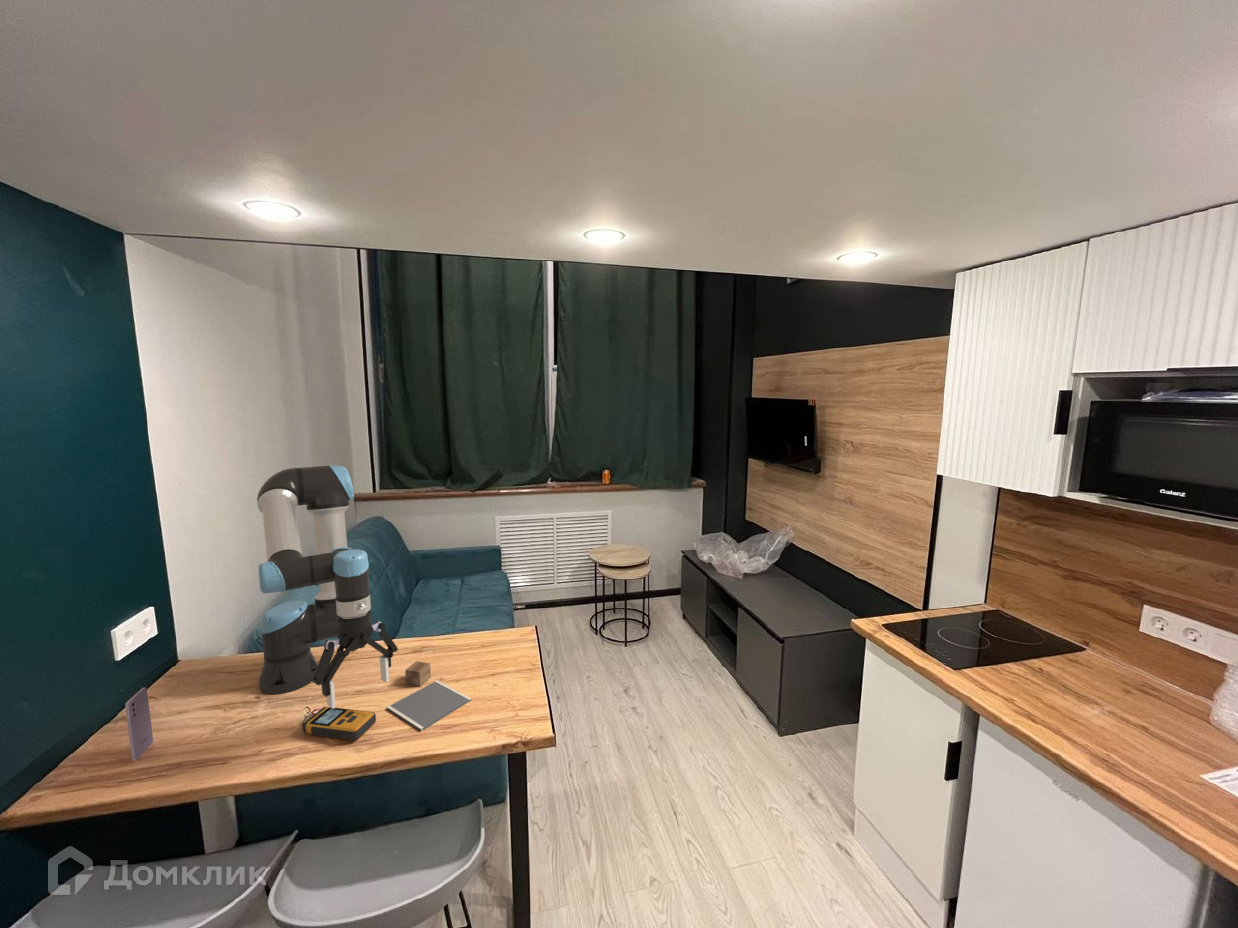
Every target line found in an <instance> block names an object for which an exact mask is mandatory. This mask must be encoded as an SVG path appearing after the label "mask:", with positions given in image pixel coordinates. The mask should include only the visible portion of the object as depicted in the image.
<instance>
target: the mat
mask: <svg viewBox="0 0 1238 928" xmlns="http://www.w3.org/2000/svg"><path fill="white" fill-rule="evenodd" d="M471 701H472V698H471V697H470V696H468V695H466V694H464V693H461V692H460V691H458V690H456V689H454V688H453V687H451V686H449V685H448V684H445V683H443V682H441V681H440V680H435V681H433V682H432V683H430V684H428V685H426V686H424V687H422V688H420V689H418V690H417V691H414V692H413V693H411V694H409V695H407V696H405V697H404V698H401V699H399V700H398V701H396V702H394V703H392V704H390V705H387V706H386V710H387V711H389V712H391V714H393V715H395V716H397V717H398V718H399V719H401V720H403V721H404V722H406V723H407V724H409V725H411V726H412V727H413V728H415V729H417V730H418V731H419V732H423V731H425V730H426V729H428V728H429V727H431V726H432V725H434V724H436V723H437V722H439V721H440V720H442V719H444V718H446V717H447V716H449V715H451V714H452V713H453V712H455V711H457V710H458V709H460V708H462V707H463V706H465V705H466V704H468V703H470V702H471Z"/></svg>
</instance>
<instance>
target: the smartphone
mask: <svg viewBox="0 0 1238 928" xmlns="http://www.w3.org/2000/svg"><path fill="white" fill-rule="evenodd" d="M124 706H125V707H124V708H125V714H126V715H125V716H126V722H127V729H128V731H127V732H128V739H129V747H130V753H131V760H132V761H133V762H136V761H138V760H139V759H140V758H141V757H142V755H143V754H144V753H145V752H146V751H147V750H148V749H149V748H150V747H151V746H152V744H153V743H154V736H153V728H152V720H151V712H150V703H149V696H148V688H147V687H142V688H140V689H139V691H137V692H136V693H135V694H134V695H133V696H132V697H130V698H129V699H128V700H127V701H126V702H125V704H124Z"/></svg>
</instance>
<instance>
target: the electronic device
mask: <svg viewBox="0 0 1238 928" xmlns="http://www.w3.org/2000/svg"><path fill="white" fill-rule="evenodd" d="M376 722H377V716H376V712H374V711H365V710H357V709H350V708H341V707H335V708H333V709H332V708H331V707H329V706H323V707H321V708H320V709H319V710H317V712H316V713H314V714H312V716H310V717H309V718H308V719H306V720H305V721H304V722H303V724H302V729H303V730H302V731H303V733H304V734H309V735H313V736H320V737H327V738H334V739H341V740H349V741H356V740H358V739H360V738H361V737H362V736H363V735H364V734H365V733H366V732H367V731H369V729H370V728H371V727H372V726H373V725H374V724H375V723H376Z"/></svg>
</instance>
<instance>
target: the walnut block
mask: <svg viewBox="0 0 1238 928" xmlns="http://www.w3.org/2000/svg"><path fill="white" fill-rule="evenodd" d="M404 671H405V685H406V686H407V685H408V686H413V687H418V688H421V687H422V686H423V685H425V683H427V682H428V681H429V680H430V679H431V678H432V674H431V673H432V672H431V663H429V662H423V661H417V660H415V661H414V662H413V663H412V664H411V665H409V666H408V667H407V668H405V669H404Z"/></svg>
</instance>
